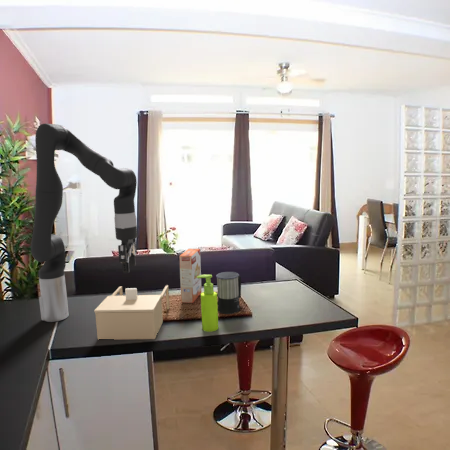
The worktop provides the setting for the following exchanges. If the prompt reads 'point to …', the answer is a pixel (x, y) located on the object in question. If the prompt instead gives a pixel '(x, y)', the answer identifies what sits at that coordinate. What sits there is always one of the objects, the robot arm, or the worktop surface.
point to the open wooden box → (131, 322)
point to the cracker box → (190, 275)
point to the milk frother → (228, 292)
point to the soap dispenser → (209, 306)
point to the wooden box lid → (129, 302)
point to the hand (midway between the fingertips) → (129, 269)
